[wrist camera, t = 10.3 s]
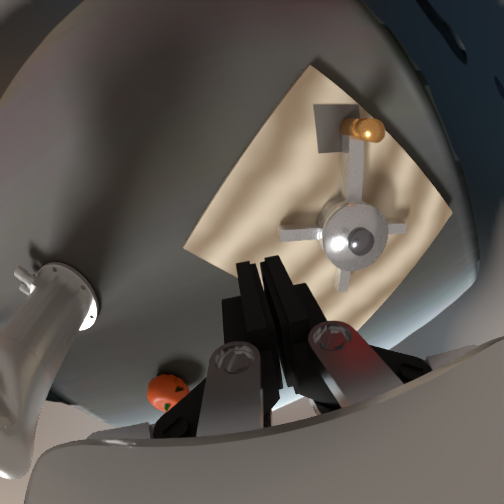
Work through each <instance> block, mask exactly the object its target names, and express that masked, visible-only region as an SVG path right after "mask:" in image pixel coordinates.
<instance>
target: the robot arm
mask: <svg viewBox="0 0 504 504" xmlns="http://www.w3.org/2000/svg"><path fill="white" fill-rule="evenodd" d="M264 260H265V261H264V262H260V268H261V274H262V281H263V286H262V283H261V279H260V276H259V273H258V269H257V266H256V263H254V264H250V261H245V262H240V263H236V269H237V275H238V282H239V288H240V294H241V296H237V297H232V298H227V299H222V314H223V330H224V345H222V346H220V347H219V348H217V349H216V350H215V351H214V352H213V354H212V355H211V358H210V360H209V366H208V371H207V377H206V378H205V379H204V380H203V381H202V382H201V383H200V384H198V385H197V386H196V387H195V388H194V389H193V390H192V391H191V392H189V393H188V394H187V395H186V396H185V397H184V398H183V399H181V400H180V401H179V402H178V403H177V404H176V405H174V406H173V407H172V408H171V409H170V410H169V411H167V412H166V413H165V414H164V415H163V416H161V417H160V419H159V420H158V421H157V422H156V423H155V424H151V425H150V424H149V423H148V422H145V423H141V424H136V425H131V426H126V427H121V428H116V429H110V430H103V431H97V432H94V433H92V434H91V435H90V436H88V437H87V439H85V440H78V441H71V442H68V443H64V444H60V445H57V446H55V447H52V448H50V449H48V450H46V451H45V452H44V453H43V454H42V455H41V456H40V457H39V458H38V460H37V462H36V464H35V466H34V468H33V471H32V473H31V476H30V479H29V483H28V487H27V491H26V495H25V500H24V504H504V336H502V337H499V338H496V339H493V340H491V341H488V342H486V343H484V344H482V345H480V346H475V345H470V346H465V347H462V348H459V349H455V350H451V351H448V352H444V353H440V354H436V355H432V356H427V358H426V360H422V359H420V358H417V357H414V356H410V355H406V354H402V353H398V352H394V351H390V350H387V349H383V348H379V347H375V346H372V345H369V344H368V343H367V342H366V341H365V340H364V339H363V338H362V337H361V336H360V335H359V333H358V332H357V331H356V330H355V329H354V328H353V327H352V326H350V325H349V324H347V323H345V322H341V321H327V319H326V317H325V315H324V314H323V312H322V310H321V308H320V306H319V305H318V303H317V301H316V299H315V298H314V296H313V294H312V292H311V291H310V289H309V287H308V285H307V284H306V283H301V284H296V285H293V283H292V281H291V279H290V277H289V275H288V273H287V271H286V269H285V267H284V265H283V263H282V261H281V259H280V257H279V255H275V256H270V257H265V258H264ZM14 275H15V277H17V278H18V279H19V280H21V281H22V283H21V285H20V288H19V289H20V290H21V291H22V292H24V293H26V294H27V295H28V297H27V298H26V300H25V301H24V302H23V303H22V304H21V306H20V307H19V308H18V309H17V310H16V312H15V313H14V314H13V315H12V317H11V318H10V319H9V321H8V322H7V323H6V324H5V326H4V327H3V328H2V330H1V331H0V476H1V477H3V478H7V479H20V478H22V477H23V476H25V474H26V473H27V472H28V470H29V468H30V465H31V462H32V457H33V450H34V440H35V434H36V428H37V423H38V419H39V415H40V413H41V409H42V407H43V404H44V401H45V399H46V396H47V394H48V392H49V390H50V387H51V385H52V383H53V381H54V379H55V376H56V374H57V372H58V370H59V368H60V366H61V364H62V362H63V360H64V358H65V356H66V354H67V352H68V350H69V348H70V346H71V344H72V343H73V341H74V339H75V337H76V335H77V333H78V332H79V330H84V329H87V328H89V327H91V326H92V325H93V324H94V322H95V320H96V319H97V316H98V312H99V304H98V300H97V296H96V294H95V292H94V290H93V288H92V287H91V285H90V284H89V282H88V281H87V280H86V279H85V277H84V276H82V275H81V274H80V273H79V272H78V271H77V270H75V269H74V268H72V267H70V266H68V265H66V264H63V263H60V262H50V263H47V264H45V265H44V266H43V267H42V268H41V269H40V270H39V271H38V272H37V274H36V275H35V274H33V275H31V274H29V273H28V272H27V271H26V270H25V269H24V268H22V267H21V266H18V267H17V268H16V270H15V273H14ZM23 282H24V283H23ZM25 283H26V284H27V285H26V284H25ZM263 287H264V289H263ZM279 358H280V360H279ZM280 362H281V365H282V369H283V372H284V376H285V379H286V383H287V386H288V387H292V386H293V387H294V390H295V393H296V394H300V395H303V396H305V397H308V398H309V401H310V404H311V406H312V408H313V410H314V411H315V413H316V415H317V416H314V417H310V418H307V419H303V420H299V421H295V422H291V423H286V424H281V425H277V426H272V410H271V409H272V408H273V406H274V405H275V404H276V403H277V401H278V400H279V399H280V395H279V389H283V383H282V375H281V368H280Z"/></svg>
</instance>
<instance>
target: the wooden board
mask: <svg viewBox="0 0 504 504" xmlns="http://www.w3.org/2000/svg"><path fill="white" fill-rule="evenodd" d="M347 118H373V117H372V116H371V115H370V114H369V113H367V112H366V111H365V110H364V109H363V108H362V107H361V106H360V105H359V104H358V103H357V102H355V101H354V100H353V99H352V98H351V97H350V96H349V95H348V94H346V93H345V92H344V91H343V90H342V89H340V88H339V87H338V86H337V85H336V84H334V83H333V82H332V81H331V80H329V79H328V78H327V77H326V76H324V75H323V74H322V73H320V72H319V71H318V70H316V69H315V68H314V67H312V66H311V65H309V66H308V67H306V68H305V69H304V71H303V72H302V73H301V74H300V76H299V77H298V78H297V79H296V81H295V82H294V83H293V84H292V86H291V87H290V88H289V90H288V91H287V92H286V93H285V95H284V96H283V97H282V99H281V100H280V101H279V103H278V104H277V105H276V107H275V108H274V109H273V111H272V112H271V113H270V115H269V116H268V117H267V119H266V120H265V122H264V123H263V124H262V126H261V127H260V128H259V130H258V131H257V133H256V134H255V135H254V137H253V138H252V140H251V141H250V142H249V144H248V145H247V147H246V148H245V150H244V151H243V153H242V154H241V155H240V157H239V158H238V160H237V161H236V163H235V164H234V166H233V167H232V169H231V170H230V172H229V173H228V175H227V176H226V178H225V179H224V181H223V182H222V184H221V185H220V187H219V188H218V190H217V191H216V193H215V194H214V196H213V198H212V199H211V201H210V202H209V204H208V205H207V207H206V209H205V210H204V212H203V213H202V215H201V217H200V218H199V220H198V221H197V223H196V225H195V226H194V228H193V230H192V231H191V233H190V234H189V236H188V238H187V239H186V241H185V244H184V247H183V248H184V249H186V250H188V251H189V252H191V253H193V254H195V255H197V256H198V257H200V258H202V259H204V260H206V261H208V262H209V263H211V264H213V265H215V266H217V267H219V268H220V269H222V270H224V271H226V272H228V273H230V274H232V275H234V276H235V277H237V278H238V275H237V269H236V263H240V262H245V261H250V264H254V263H256V266H257V269H258V273H259V276H260V279H261V283H262V286H263V281H262V274H261V268H260V262H264V261H265V260H264V258H265V257H270V256H275V255H279V257H280V259H281V261H282V263H283V265H284V267H285V269H286V271H287V273H288V275H289V277H290V279H291V281H292V283H293V285H296V284H301V283H306V284H307V285H308V287H309V289H310V291H311V292H312V294H313V296H314V298H315V299H316V301H317V303H318V305H319V306H320V308H321V310H322V312H323V314H324V315H325V317H326V319H327V321H341V322H345V323H347V324H349V325H350V326H352V327H353V328H354V329H355V330H356V331H357V330H358V329H359V328H360V327H361V326H362V325H363V324H364V323H365V322H366V321H367V320H368V319H369V318H370V317H371V316H372V315H373V314H374V312H375V311H376V310H377V309H378V308H379V307H380V306H381V305H382V304H383V303H384V301H385V300H386V299H387V298H388V297H389V296H390V295H391V293H392V292H393V291H394V290H395V289H396V288H397V286H398V285H399V284H400V283H401V282H402V280H403V279H404V278H405V277H406V276H407V274H408V273H409V272H410V271H411V269H412V268H413V267H414V266H415V264H416V263H417V262H418V260H419V259H420V258H421V256H422V255H423V254H424V253H425V251H426V250H427V249H428V247H429V246H430V244H431V243H432V242H433V240H434V239H435V237H436V236H437V235H438V233H439V232H440V230H441V229H442V227H443V226H444V225H445V223H446V222H447V220H448V219H449V217H450V215H451V214H452V211H451V209H450V208H449V207H448V205H447V204H446V202H445V201H444V199H443V198H442V197H441V195H440V194H439V193H438V191H437V190H436V189H435V187H434V186H433V185H432V183H431V182H430V181H429V179H428V178H427V177H426V176H425V174H424V173H423V172H422V171H421V169H420V168H419V167H418V166H417V165H416V163H415V162H414V161H413V160H412V159H411V157H410V156H409V155H408V154H407V153H406V152H405V151H404V149H403V148H402V147H401V146H400V145H399V144H398V143H397V142H396V141H395V140H394V139H393V138H392V136H391V135H390V134H389V133H388V132H387V131H386V130H385V137H384V139H383V140H382V141H381V142H378V143H373V142H367V141H364V162H363V183H362V198H361V199H362V200H363V201H365V202H366V203H368V204H370V205H371V206H373V207H374V208H376V209H378V210H379V211H380V212H381V213H382V214H383V216H384V217H385V219H386V220H393V219H401V220H403V221H404V222H406V223H407V227H406V233H404V234H389V235H388V240H387V244H386V247H385V249H384V251H383V252H382V254H381V255H380V257H379V258H378V259H377V260H376V261H375V262H374V263H373V264H371V265H370V266H368V267H366V268H364V269H362V270H358V271H351V272H350V279H349V285H348V291H345V292H337V290H336V288H335V287H334V282H335V274H336V266H335V265H333V263H332V262H331V261H330V260H329V258H328V257H327V255H326V254H325V253H324V251H323V250H322V249H321V247H320V246H319V244H318V242H317V240H303V241H289V242H280V240H279V238H278V225H293V224H310V223H316V220H317V217H318V215H319V213H320V211H321V210H322V209H323V207H324V206H325V205H326V204H327V203H329V202H330V201H331V200H333V199H335V198H337V197H340V196H341V174H342V134H341V132H340V124H341V122H342V121H343V120H344V119H347ZM263 289H264V287H263Z"/></svg>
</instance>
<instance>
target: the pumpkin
mask: <svg viewBox="0 0 504 504" xmlns="http://www.w3.org/2000/svg"><path fill="white" fill-rule="evenodd" d="M189 392H190V391H189V389H188V387H187V385H186V384H185V383H184V382H183V380H182V379H181V378H179V377H176V376H174V375H173V374H170V375H166V374H161V375H160V376H157V377H155V378H153V379H152V380H151V381H150V383H149V387H148V393H147V398H148V400H149V402H150V403H151V404H152V405H154V407H155V408H156V409H159V410H162V411H164V412H167V411H169V410H170V409H171V408H172V407H173V406H174V405H176V404H177V403H178V402H179V401H180V400H181V399H183V398H184V397H185V396H186V395H187V394H188V393H189Z"/></svg>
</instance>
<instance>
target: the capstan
mask: <svg viewBox="0 0 504 504" xmlns="http://www.w3.org/2000/svg"><path fill="white" fill-rule="evenodd" d="M340 132H341V134H342V174H341V196H340V197H337V198H335V199H333V200H331V201H330V202H329V203H327V204H326V205H325V206H324V207H323V209H322V210H321V211H320V213H319V215H318V217H317V220H316V223H310V224H293V225H278V238H279V240H280V242H289V241H303V240H317V242H318V244H319V246H320V247H321V249H322V250H323V251H324V253H325V254H326V255H327V257H328V258H329V260H330V261H331V262H332V263H333V265H335V266H336V274H335V282H334V287H335V288H336V290H337V292H345V291H348V285H349V279H350V272H351V271H358V270H362V269H364V268H366V267H368V266H370V265H371V264H373V263H374V262H375V261H376V260H377V259H378V258H379V257H380V255H381V254H382V252H383V251H384V249H385V247H386V244H387V240H388V235H389V234H404V233H406V227H407V223H406V222H404V221H403V220H401V219H393V220H386V219H385V217H384V216H383V214H382V213H381V212H380V211H379V210H378V209H376V208H374V207H373V206H371V205H370V204H368V203H366V202H365V201H363V200H362V199H361V198H362V183H363V162H364V141H367V142H373V143H378V142H381V141H382V140H383V139H384V137H385V126H384V124H383V123H382V122H381V121H380V120H378V119H376V118H347V119H344V120H343V121H342V122H341V124H340Z"/></svg>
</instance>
